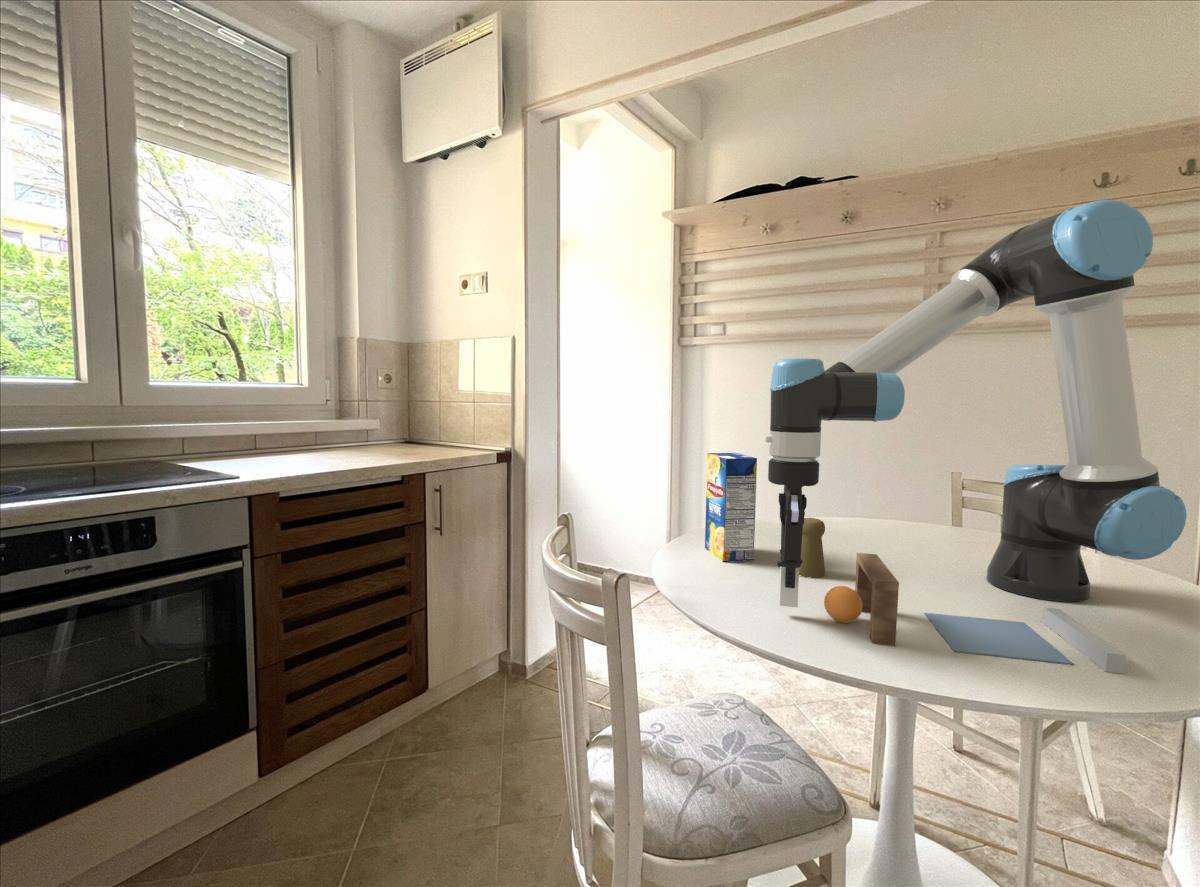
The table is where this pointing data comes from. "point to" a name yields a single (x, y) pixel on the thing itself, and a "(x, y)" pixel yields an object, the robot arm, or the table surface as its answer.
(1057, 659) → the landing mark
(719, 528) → the beverage box
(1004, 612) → the table surface
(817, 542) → the cork
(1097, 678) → the table surface
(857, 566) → the bridge
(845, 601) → the ball
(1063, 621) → the wall
